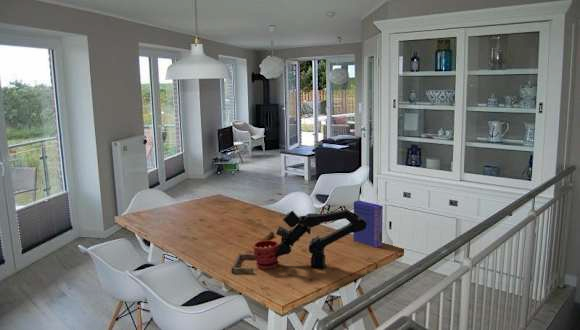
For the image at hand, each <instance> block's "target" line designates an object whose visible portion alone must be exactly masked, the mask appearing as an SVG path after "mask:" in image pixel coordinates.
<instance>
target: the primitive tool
mask: <svg viewBox="0 0 580 330" xmlns="http://www.w3.org/2000/svg"><path fill="white" fill-rule="evenodd" d="M272 237H275V233H274V232H273V231H270V232H269V233H268V234H266V236H265V237H263V238H261V240H258V242H260V241H270V240H271V238H272Z"/></svg>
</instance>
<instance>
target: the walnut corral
mask: <svg viewBox="0 0 580 330" xmlns="http://www.w3.org/2000/svg"><path fill="white" fill-rule="evenodd" d="M241 260H256V258H255V255H254V253H239V254H238V255H237V256H236V259H235V261H234V263H233V264H232V266H231V274H246V275H247V274H251V275H252V274H254V268H253V267H238V266H239V264H240V261H241Z"/></svg>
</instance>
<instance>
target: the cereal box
mask: <svg viewBox="0 0 580 330" xmlns="http://www.w3.org/2000/svg"><path fill="white" fill-rule="evenodd" d="M383 207H384V206H383V205H380V204H377V203H373V202H368V201H362V200H356V201H353V213H354V214H356V215H358V216H362V217H364V218H365V221H366V228H365V229H364V230H362V231H359V232H354V233H353V241H354V242H357V243H360V244H363V245H366V246H369V247H372V248H375V249H378V248H381V247H383V218H384V217H383V216H384V214H383V212H384V210H383Z"/></svg>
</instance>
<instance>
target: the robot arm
mask: <svg viewBox="0 0 580 330" xmlns="http://www.w3.org/2000/svg"><path fill="white" fill-rule="evenodd" d="M344 219H345V220H347V221H348V224H346V225H344V226H343V227H340V228H339V229H337V230H335V231H333V232H332V233H329V234H327V235H325V236H323V237H320V236H319V235H317V236H316V237H313V238H311V240H310V241H309V243H308V251H309V253H310V254H311V257H310V268H312V269H318V270H323V269H324V268H325V267H327V264H326V254H325V248H326V247H327V246H328V245H331V244H333V243H334V242H336V241H338V240H340V239H342V238H344V237H347V236H348V235H350V234H352V233H353V234H354V232H359V231H362V230H364V229H365V228H366V221H365V218H364V217H362V216H358V215H356V214H354V212H353V211H350V210H349V209H346V208H345V209H342V210H337V211H331V212H326V213H313V212H311V213H306V215H301V216H300V215H297V214H296V213H295V212H294V210H291V211H289V212H288V213H286V214H285V216H284V217H283V218H282V221H283V222H284V223H285V224H286V225H288V226H289V228H292V229H289V230H288V229H286V228H284V227H282V226H278V228H277V230H276V233H275V235H277V236H280V238H281V240H280V242H279V249H278V251H277V252H276V254H275V255H274V257H278V258H279V257H281V256H285V255H289V254H290V253H292V247H293V246H294V244H296V242H299V241H300V239H301V238H302V237H303V236H304V235H305V234H306V233H307V234H308V235H311V229H312V228H314V227H317V226H319V225H321V224H324V223H329V222H334V221H339V220H344Z"/></svg>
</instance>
